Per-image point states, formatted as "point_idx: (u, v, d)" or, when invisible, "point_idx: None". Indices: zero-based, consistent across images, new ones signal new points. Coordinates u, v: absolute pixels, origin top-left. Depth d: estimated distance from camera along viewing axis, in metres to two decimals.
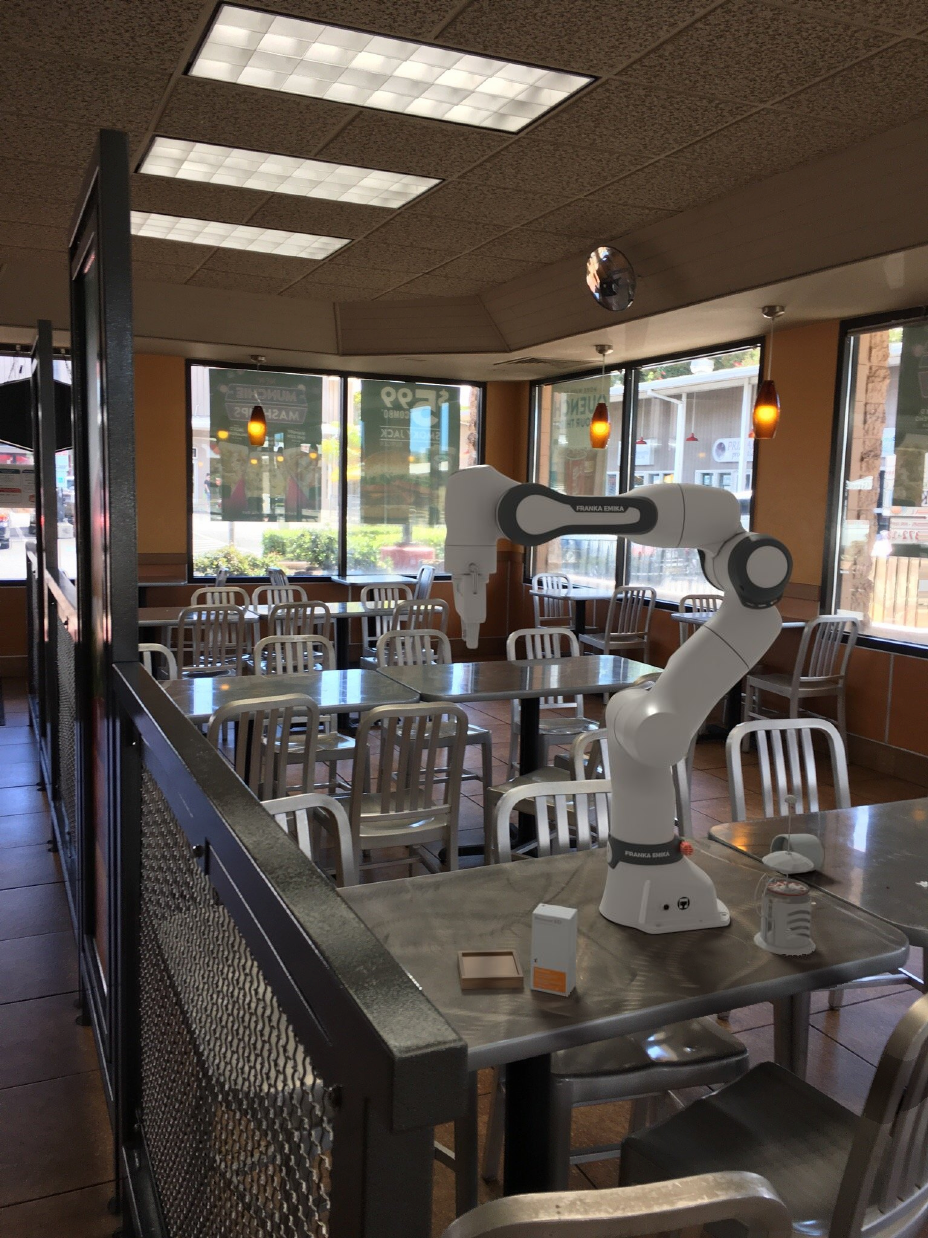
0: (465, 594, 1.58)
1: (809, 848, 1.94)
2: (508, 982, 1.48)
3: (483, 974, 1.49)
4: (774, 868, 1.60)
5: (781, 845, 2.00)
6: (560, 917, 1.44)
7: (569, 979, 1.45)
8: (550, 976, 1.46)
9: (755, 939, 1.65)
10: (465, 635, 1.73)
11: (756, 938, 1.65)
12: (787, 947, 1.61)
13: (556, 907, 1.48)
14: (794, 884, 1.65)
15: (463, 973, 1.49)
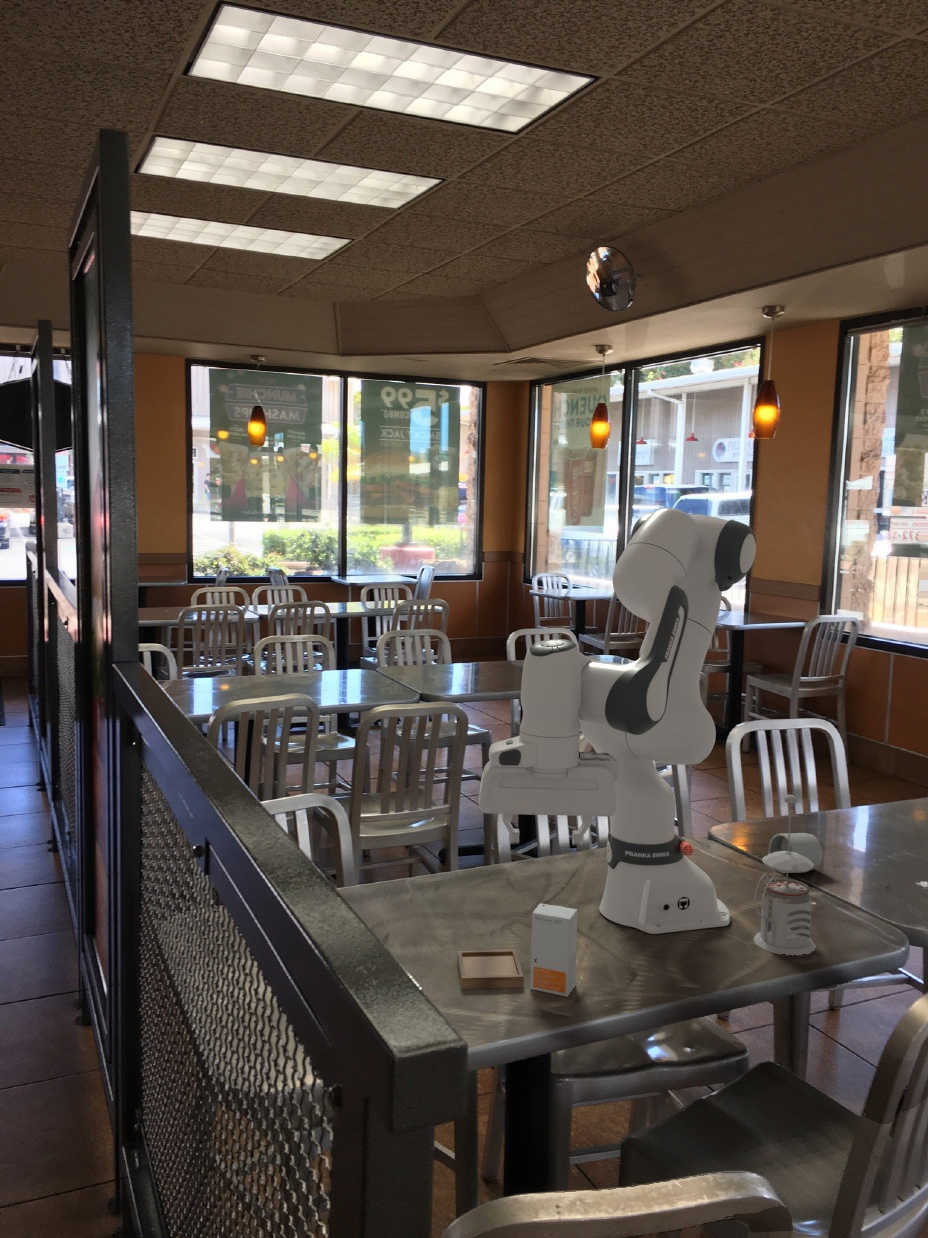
0: (614, 786, 1.45)
1: (808, 847, 1.95)
2: (508, 982, 1.48)
3: (483, 974, 1.49)
4: (774, 868, 1.60)
5: (779, 844, 2.00)
6: (560, 917, 1.44)
7: (569, 979, 1.45)
8: (550, 976, 1.46)
9: (755, 939, 1.65)
10: (518, 836, 1.47)
11: (756, 938, 1.65)
12: (787, 947, 1.61)
13: (556, 907, 1.48)
14: (794, 884, 1.65)
15: (463, 973, 1.49)
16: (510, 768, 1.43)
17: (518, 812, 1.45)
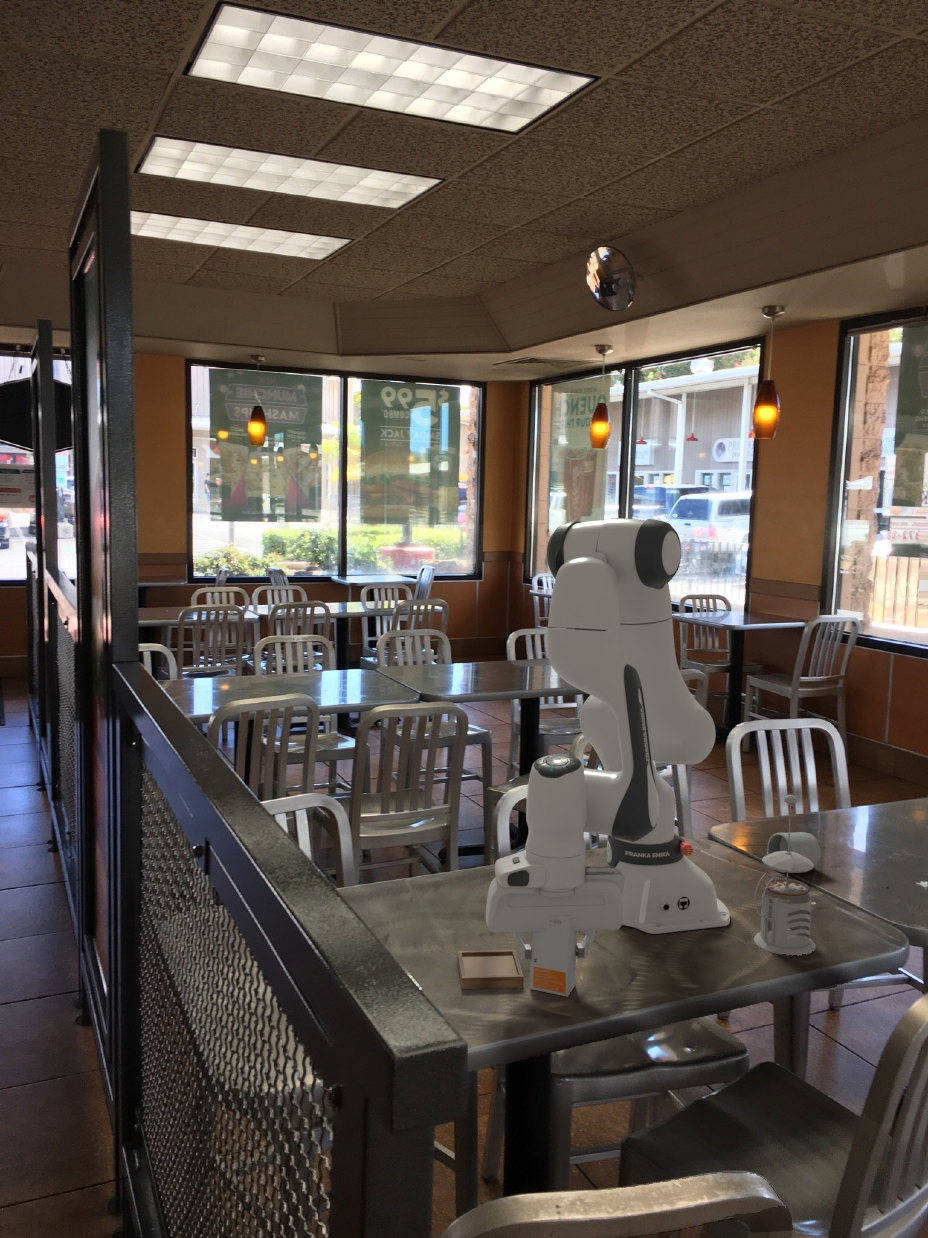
0: (621, 900, 1.46)
1: (806, 846, 1.95)
2: (508, 982, 1.48)
3: (483, 974, 1.49)
4: (774, 868, 1.60)
5: (778, 843, 2.01)
6: (560, 917, 1.44)
7: (569, 979, 1.45)
8: (550, 976, 1.46)
9: (755, 939, 1.65)
10: None
11: (756, 938, 1.65)
12: (787, 947, 1.61)
13: None
14: (794, 884, 1.65)
15: (463, 973, 1.49)
16: (518, 888, 1.43)
17: (526, 930, 1.45)
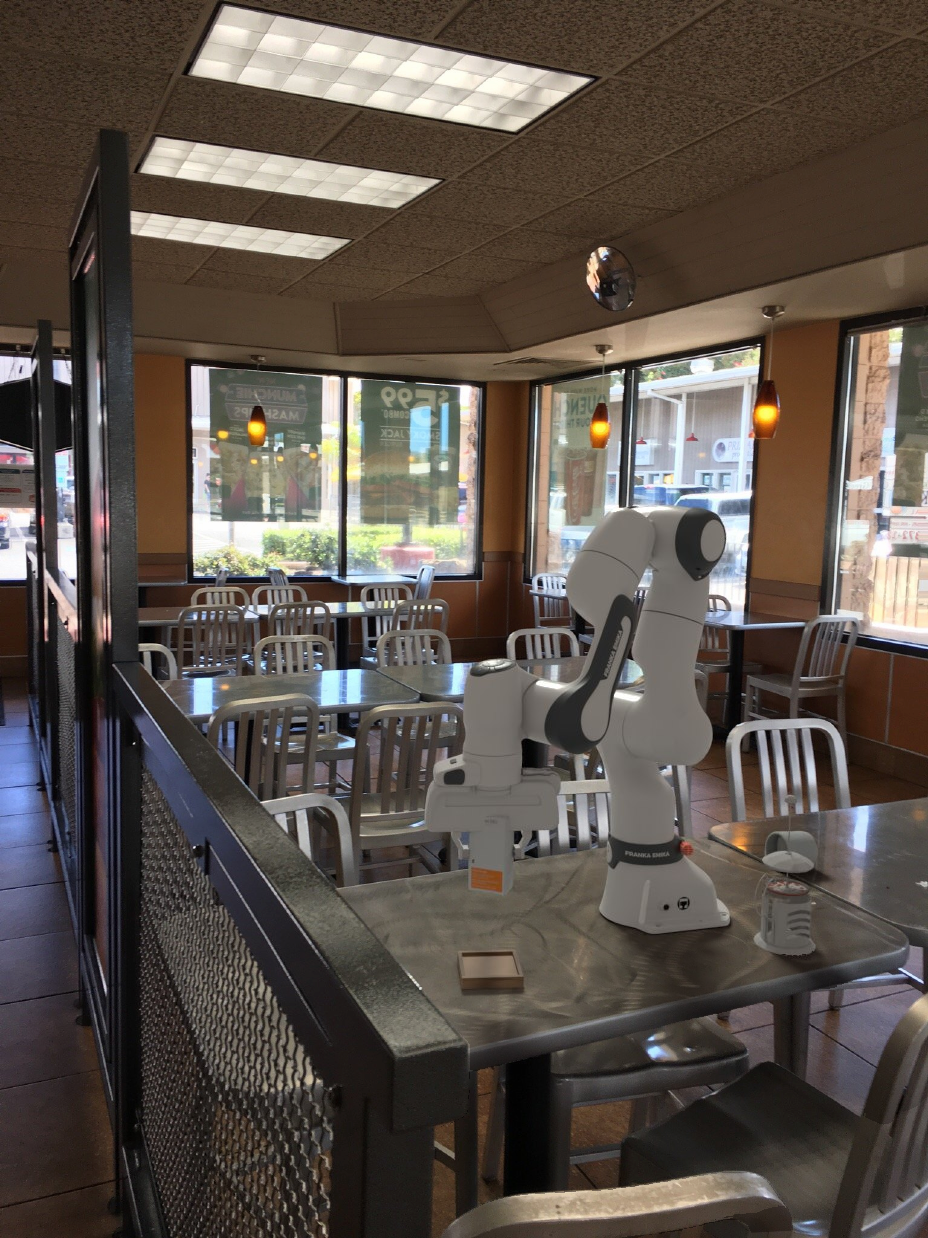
0: None
1: (803, 845, 1.96)
2: (508, 982, 1.48)
3: (483, 974, 1.49)
4: (774, 868, 1.60)
5: (776, 842, 2.02)
6: (496, 817, 1.47)
7: (506, 878, 1.48)
8: (487, 876, 1.49)
9: (755, 939, 1.65)
10: None
11: (756, 938, 1.65)
12: (787, 947, 1.61)
13: None
14: (794, 884, 1.65)
15: (463, 973, 1.49)
16: (455, 787, 1.46)
17: (463, 829, 1.48)
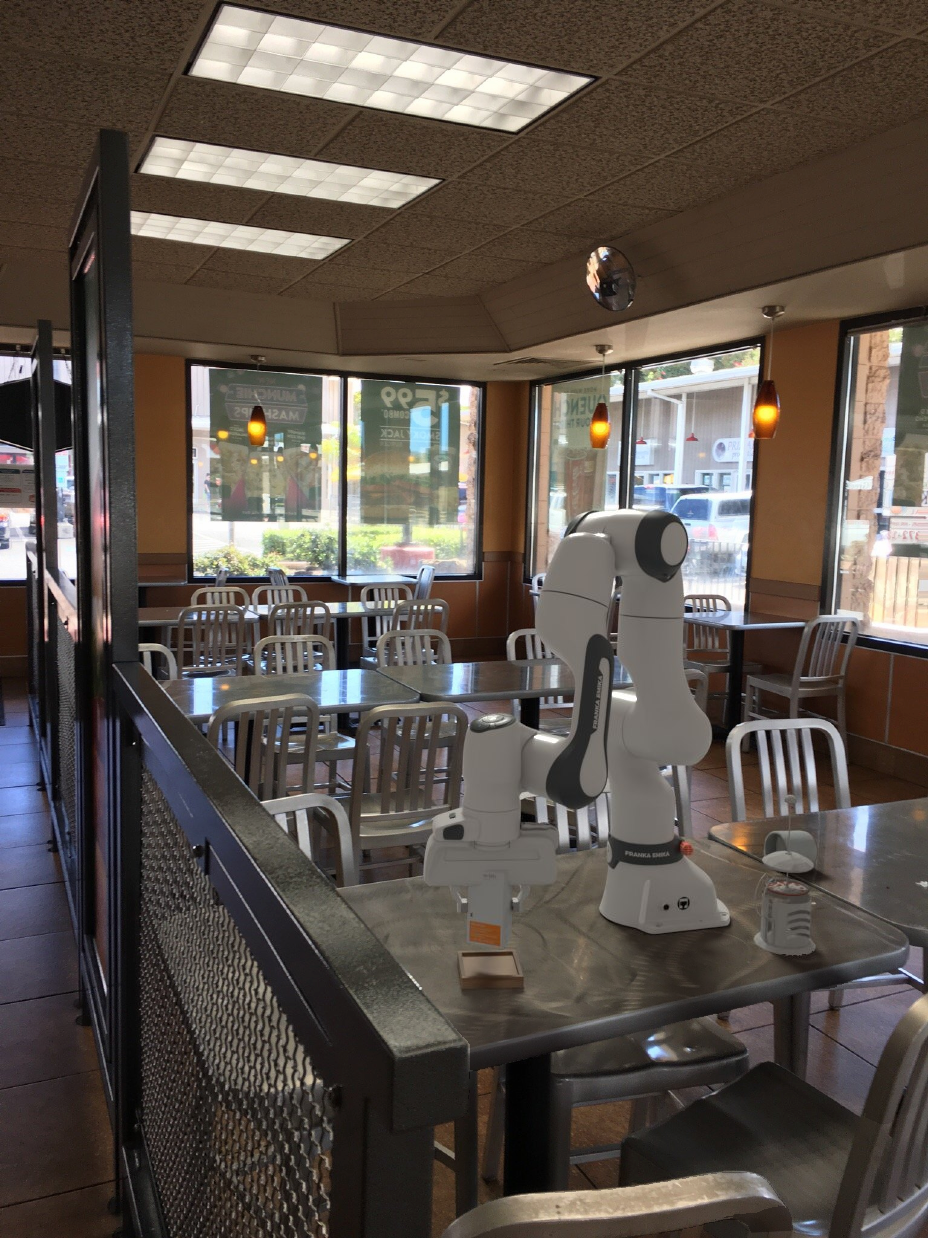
0: (555, 855, 1.49)
1: (802, 844, 1.96)
2: (508, 982, 1.48)
3: (483, 974, 1.49)
4: (774, 868, 1.60)
5: (775, 842, 2.02)
6: (495, 871, 1.48)
7: (504, 932, 1.49)
8: (485, 930, 1.49)
9: (755, 939, 1.65)
10: (466, 906, 1.50)
11: (756, 938, 1.65)
12: (787, 947, 1.61)
13: None
14: (794, 884, 1.65)
15: (463, 973, 1.49)
16: (454, 842, 1.47)
17: (462, 884, 1.49)
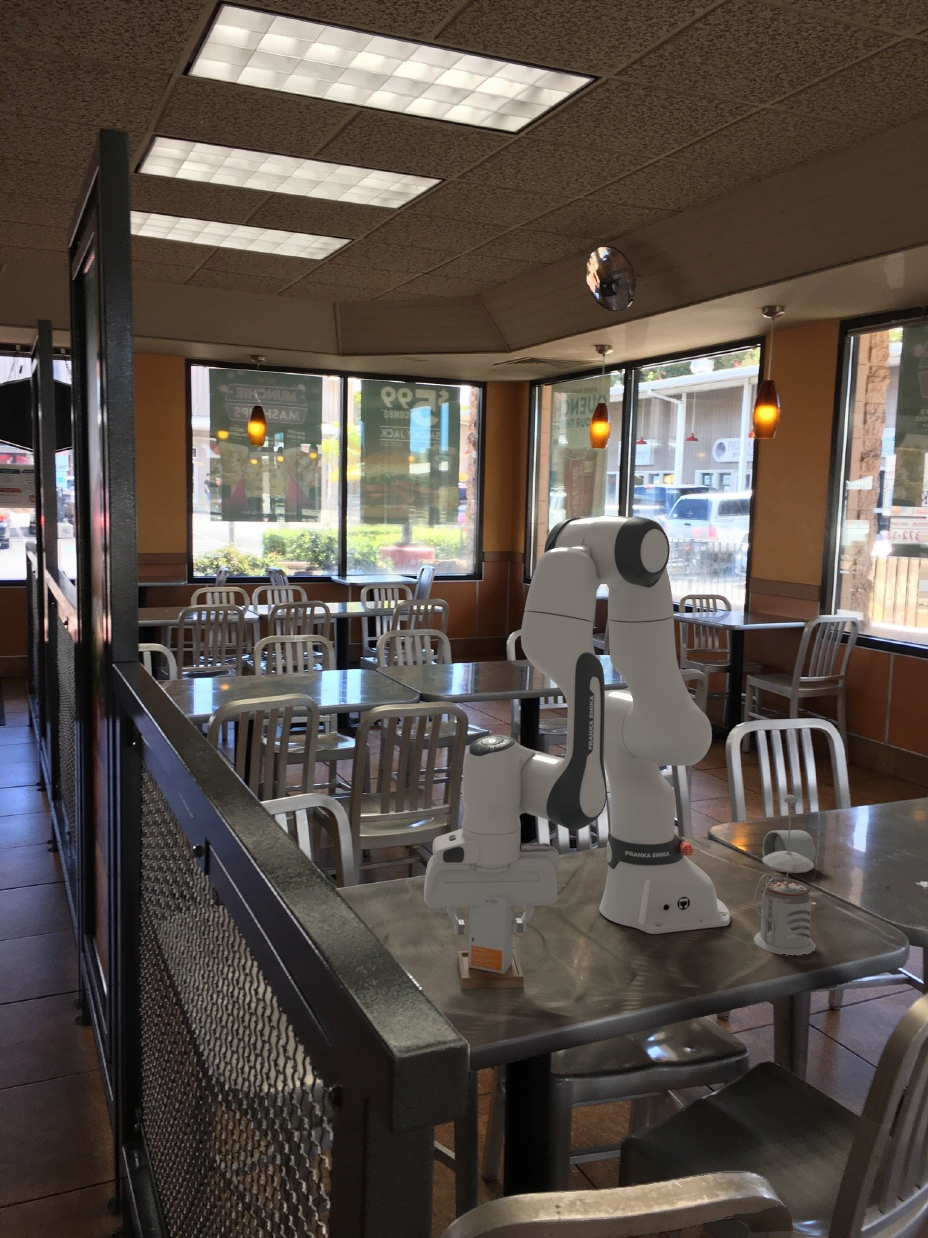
0: (555, 876, 1.50)
1: (801, 844, 1.97)
2: (508, 982, 1.48)
3: (483, 974, 1.49)
4: (774, 868, 1.60)
5: (773, 841, 2.02)
6: (496, 897, 1.49)
7: (505, 957, 1.50)
8: (487, 955, 1.50)
9: (755, 939, 1.65)
10: None
11: (756, 938, 1.65)
12: (787, 947, 1.61)
13: None
14: (794, 884, 1.65)
15: (463, 973, 1.49)
16: (454, 865, 1.47)
17: (463, 906, 1.49)
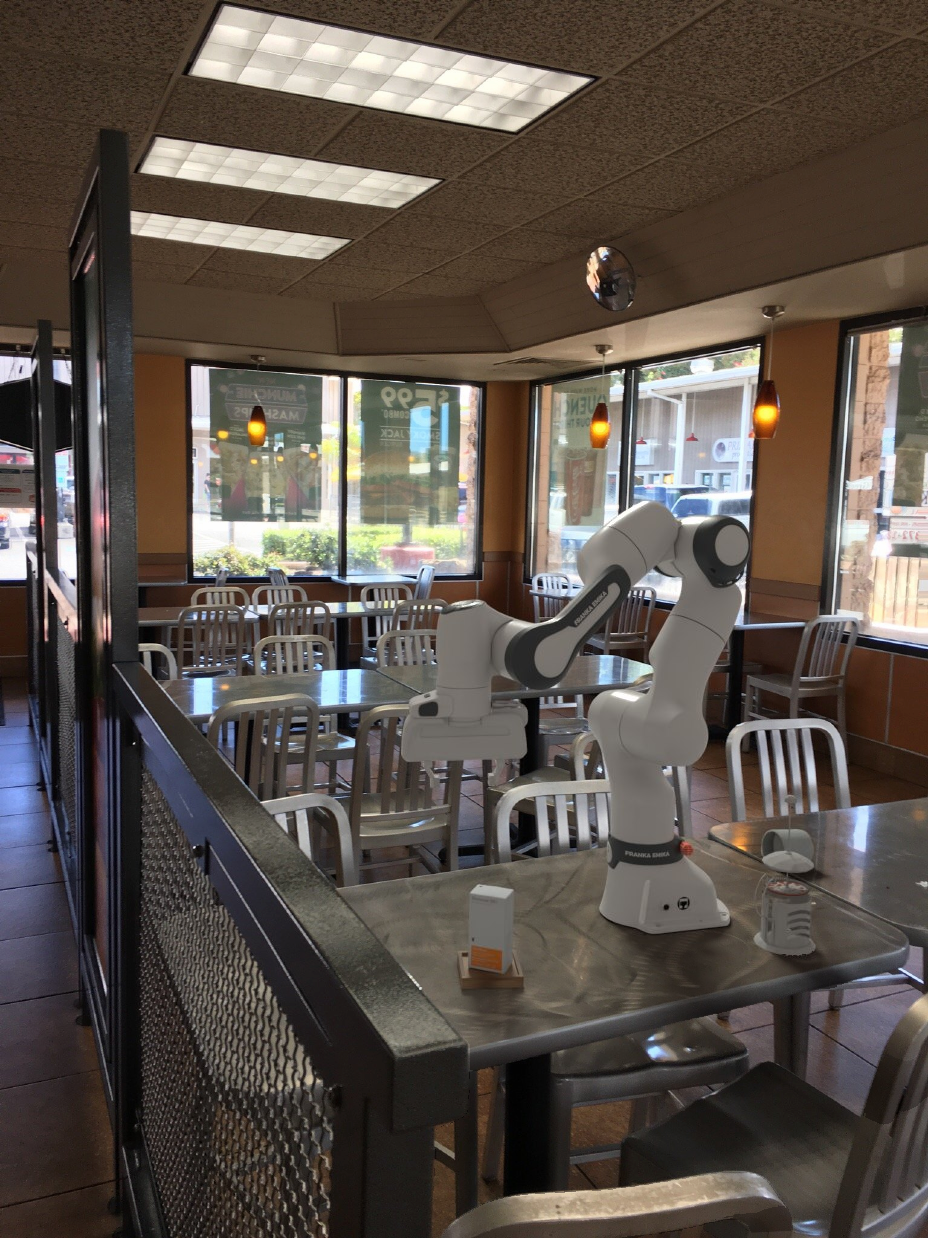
0: (524, 730, 1.59)
1: (799, 843, 1.97)
2: (508, 982, 1.48)
3: (483, 974, 1.49)
4: (774, 868, 1.60)
5: (772, 840, 2.03)
6: (496, 897, 1.49)
7: (505, 957, 1.50)
8: (487, 955, 1.50)
9: (755, 939, 1.65)
10: (439, 781, 1.60)
11: (756, 938, 1.65)
12: (787, 947, 1.61)
13: (493, 887, 1.52)
14: (794, 884, 1.65)
15: (463, 973, 1.49)
16: (429, 719, 1.56)
17: (438, 759, 1.58)
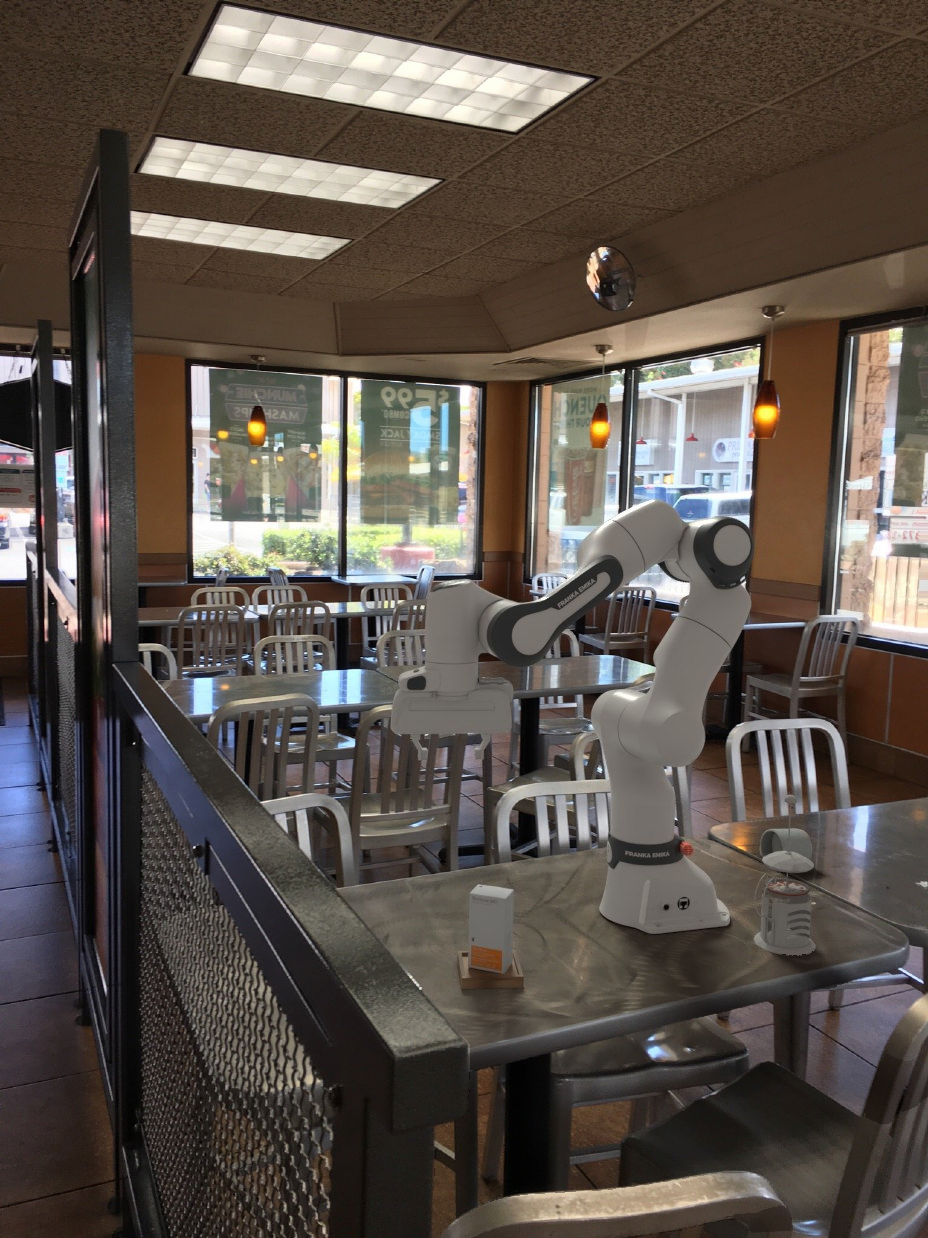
0: (509, 706, 1.65)
1: (798, 842, 1.98)
2: (508, 982, 1.48)
3: (483, 974, 1.49)
4: (774, 868, 1.60)
5: (770, 839, 2.03)
6: (496, 897, 1.49)
7: (505, 957, 1.50)
8: (487, 955, 1.50)
9: (755, 939, 1.65)
10: (426, 754, 1.66)
11: (756, 938, 1.65)
12: (787, 947, 1.61)
13: (493, 887, 1.52)
14: (794, 884, 1.65)
15: (463, 973, 1.49)
16: (417, 693, 1.62)
17: (425, 732, 1.64)
